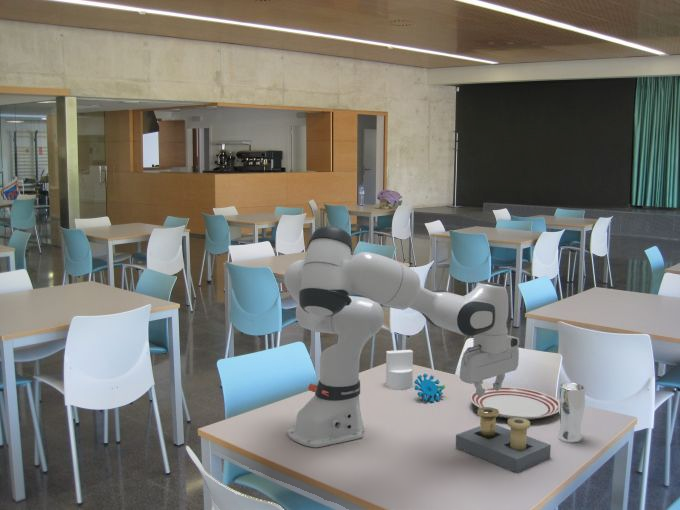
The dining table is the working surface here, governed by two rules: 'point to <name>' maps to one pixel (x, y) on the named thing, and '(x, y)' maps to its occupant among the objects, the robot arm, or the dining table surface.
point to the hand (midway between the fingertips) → (488, 392)
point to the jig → (506, 446)
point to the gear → (429, 388)
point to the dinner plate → (517, 402)
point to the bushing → (487, 421)
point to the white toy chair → (399, 369)
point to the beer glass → (571, 411)
